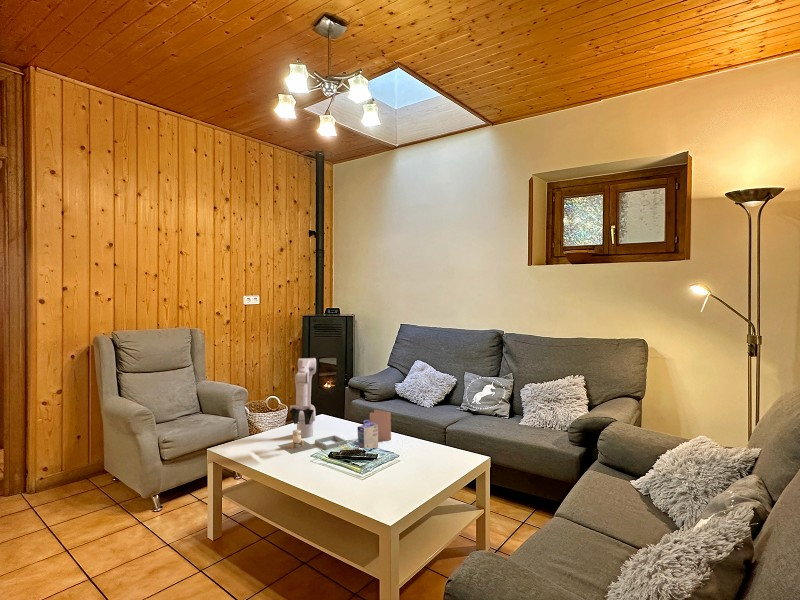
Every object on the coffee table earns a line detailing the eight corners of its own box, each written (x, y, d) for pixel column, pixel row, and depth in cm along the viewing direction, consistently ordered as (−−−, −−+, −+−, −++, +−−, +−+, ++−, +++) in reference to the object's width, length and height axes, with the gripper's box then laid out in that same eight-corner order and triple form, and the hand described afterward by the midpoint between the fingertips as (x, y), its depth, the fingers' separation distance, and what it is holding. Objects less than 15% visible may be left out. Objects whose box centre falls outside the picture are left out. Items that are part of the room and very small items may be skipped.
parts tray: (314, 446, 236) (314, 439, 236) (334, 441, 243) (334, 435, 243) (326, 452, 227) (326, 445, 227) (346, 447, 234) (346, 440, 234)
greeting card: (391, 439, 246) (391, 412, 245) (383, 443, 240) (383, 415, 239) (375, 436, 252) (375, 409, 252) (366, 439, 246) (366, 412, 246)
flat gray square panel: (277, 448, 234) (277, 440, 234) (302, 442, 242) (302, 435, 242) (291, 456, 221) (291, 448, 221) (317, 450, 230) (316, 442, 230)
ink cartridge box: (371, 445, 237) (371, 417, 237) (378, 447, 233) (378, 419, 233) (357, 450, 230) (356, 421, 230) (364, 452, 226) (364, 423, 226)
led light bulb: (291, 446, 232) (291, 430, 232) (298, 444, 235) (298, 429, 235) (295, 448, 229) (295, 432, 229) (302, 446, 231) (302, 431, 231)
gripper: (285, 397, 231) (285, 424, 229) (306, 397, 223) (306, 425, 221) (295, 396, 237) (295, 423, 235) (316, 396, 229) (316, 424, 227)
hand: (301, 424), depth 228 cm, fingers open, 7 cm apart
